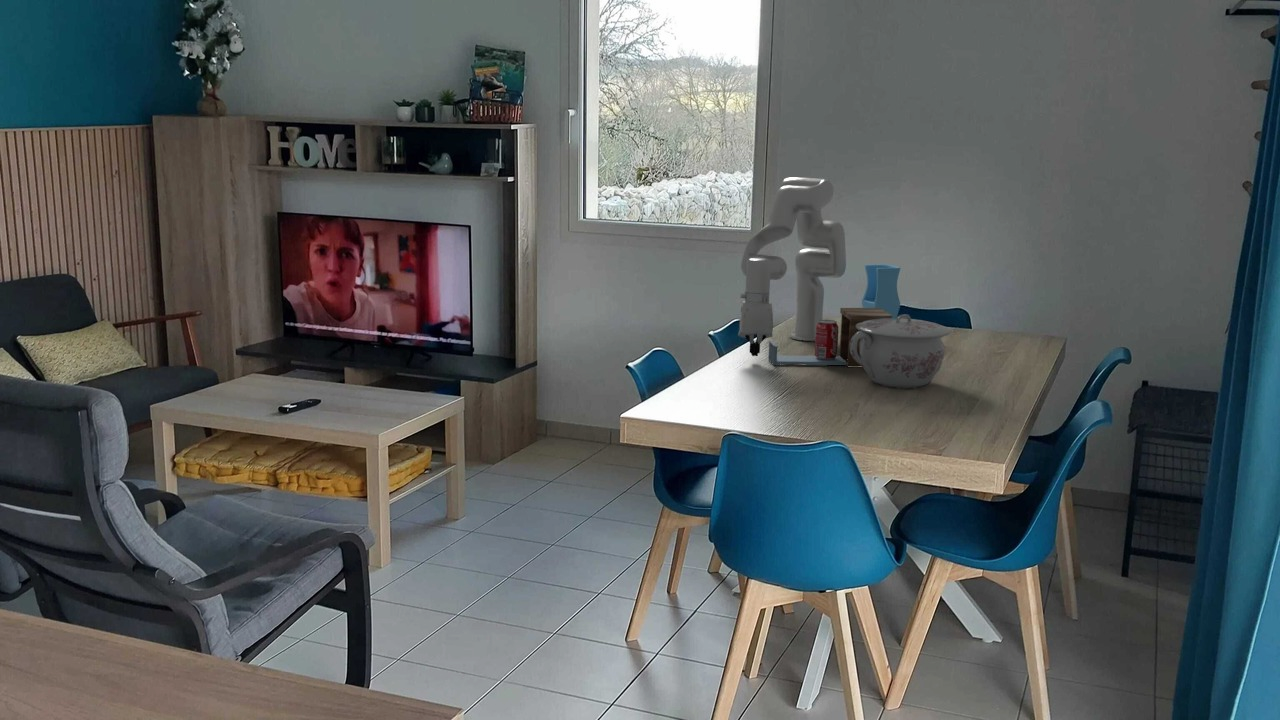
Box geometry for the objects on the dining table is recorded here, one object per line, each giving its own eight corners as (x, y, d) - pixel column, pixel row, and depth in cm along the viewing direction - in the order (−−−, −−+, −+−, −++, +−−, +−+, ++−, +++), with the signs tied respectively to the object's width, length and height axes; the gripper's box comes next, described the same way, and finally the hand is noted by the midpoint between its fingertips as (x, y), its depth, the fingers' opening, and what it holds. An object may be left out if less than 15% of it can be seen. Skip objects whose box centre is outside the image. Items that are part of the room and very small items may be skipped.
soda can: (836, 356, 366) (838, 319, 364) (837, 361, 359) (839, 323, 357) (813, 355, 367) (815, 318, 364) (814, 360, 360) (816, 322, 357)
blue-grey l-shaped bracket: (768, 359, 366) (769, 340, 365) (839, 359, 368) (840, 341, 366) (773, 365, 357) (774, 346, 356) (845, 365, 359) (847, 346, 358)
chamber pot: (947, 377, 347) (953, 309, 343) (946, 397, 321) (952, 325, 317) (854, 369, 354) (858, 303, 350) (845, 389, 328) (849, 318, 324)
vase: (859, 333, 414) (864, 264, 409) (884, 332, 417) (888, 264, 411) (873, 338, 405) (877, 268, 399) (897, 337, 408) (902, 267, 402)
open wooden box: (837, 358, 370) (840, 307, 367) (877, 358, 371) (880, 308, 367) (847, 367, 356) (851, 315, 353) (888, 368, 357) (892, 315, 354)
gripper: (735, 299, 353) (732, 357, 357) (783, 299, 354) (780, 358, 358) (731, 295, 360) (729, 352, 364) (778, 296, 361) (775, 353, 365)
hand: (754, 355), depth 361 cm, fingers closed
